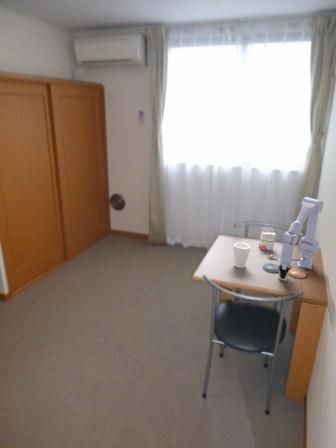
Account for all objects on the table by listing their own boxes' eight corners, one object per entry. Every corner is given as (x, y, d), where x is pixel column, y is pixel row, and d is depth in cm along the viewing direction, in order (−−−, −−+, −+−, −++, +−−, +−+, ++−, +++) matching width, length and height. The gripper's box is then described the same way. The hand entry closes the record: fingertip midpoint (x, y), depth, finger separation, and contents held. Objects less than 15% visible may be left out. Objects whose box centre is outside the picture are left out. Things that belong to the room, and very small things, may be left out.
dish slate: (263, 263, 198) (264, 262, 198) (280, 267, 195) (281, 265, 194) (261, 270, 189) (261, 268, 189) (279, 274, 186) (279, 272, 186)
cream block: (278, 275, 185) (280, 266, 183) (287, 277, 183) (288, 267, 181) (277, 279, 181) (279, 269, 179) (286, 280, 179) (288, 271, 177)
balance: (266, 260, 202) (268, 249, 200) (303, 268, 194) (306, 257, 192) (265, 264, 198) (267, 252, 195) (303, 272, 190) (306, 260, 188)
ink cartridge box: (260, 250, 218) (263, 229, 213) (258, 247, 223) (261, 226, 218) (273, 250, 219) (276, 229, 214) (270, 247, 223) (274, 227, 218)
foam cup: (247, 270, 189) (250, 249, 185) (231, 268, 191) (234, 247, 186) (247, 263, 198) (249, 243, 193) (231, 261, 199) (234, 241, 195)
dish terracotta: (287, 268, 193) (288, 267, 193) (305, 272, 190) (306, 270, 189) (286, 275, 184) (287, 274, 184) (305, 279, 181) (305, 278, 181)
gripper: (280, 247, 185) (276, 269, 189) (278, 257, 172) (274, 279, 176) (293, 250, 182) (289, 271, 186) (292, 259, 169) (287, 282, 174)
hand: (282, 275), depth 181 cm, fingers open, 6 cm apart
